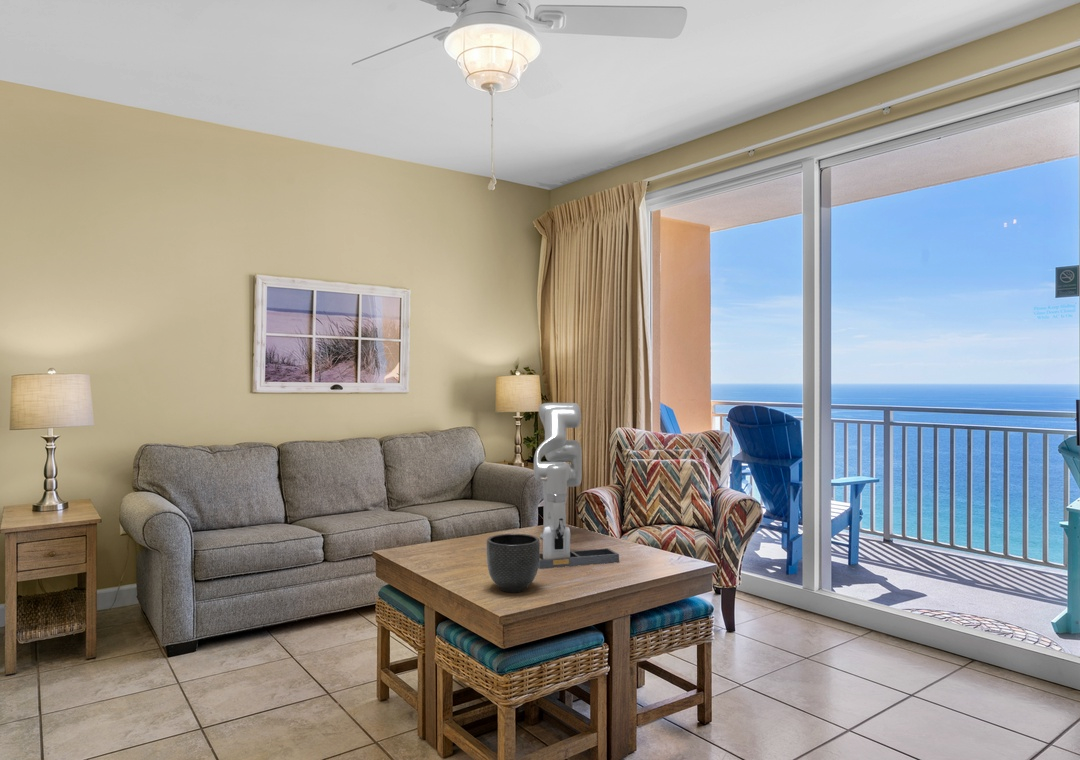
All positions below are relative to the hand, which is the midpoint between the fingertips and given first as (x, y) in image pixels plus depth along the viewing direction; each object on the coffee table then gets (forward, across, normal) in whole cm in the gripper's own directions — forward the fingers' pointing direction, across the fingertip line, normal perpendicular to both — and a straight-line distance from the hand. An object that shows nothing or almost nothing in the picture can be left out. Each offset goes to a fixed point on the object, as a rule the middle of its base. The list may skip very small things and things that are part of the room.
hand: (556, 546), depth 250 cm
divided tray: (+6, 0, +7) cm, 10 cm away
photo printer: (+5, 0, 0) cm, 5 cm away
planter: (+6, +25, -24) cm, 35 cm away
